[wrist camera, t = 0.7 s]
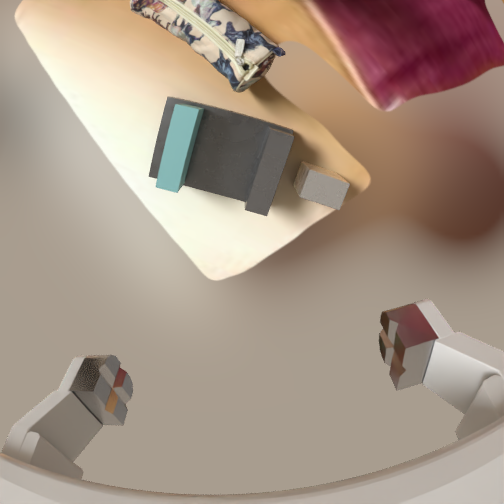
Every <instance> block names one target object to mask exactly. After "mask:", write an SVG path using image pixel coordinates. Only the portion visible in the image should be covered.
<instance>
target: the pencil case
mask: <svg viewBox="0 0 504 504" xmlns="http://www.w3.org/2000/svg"><path fill="white" fill-rule="evenodd" d="M130 8H131V11H132V12H134V13H136V14H138V15H140V16H142V17H144V18H149V19H152V20H153V21H154V22H156V23H157V24H158V25H160V26H161V27H163V28H164V29H166V30H168V31H169V32H170V33H172V34H173V35H174V36H176V37H178V38H180V39H182V40H184V41H186V42H187V43H188V44H189V45H190V46H191V47H192V49H193V50H194V51H195V52H196V53H198V54H200V55H201V56H203V57H204V58H205V59H207V60H208V61H209V62H210V63H211V64H212V65H213V66H214V67H215V68H216V69H217V70H218V71H219V72H220V73H221V74H223V75H224V76H225V77H226V78H228V79H229V82H230V84H231V87H232V89H233V91H236V92H243V91H245V90H246V89H248V88H249V87H250V86H251V85H252V84H253V83H255V82H257V81H258V80H260V79H261V78H262V77H263V76H264V75H265V74H266V73H267V72H268V70H269V69H270V67H271V65H272V63H273V60H274V58H275V55H277V56H283V55H285V51H284V50H283V49H282V48H280V47H279V46H278V45H276V44H275V43H273V42H272V41H271V40H270V39H269V38H267V37H266V36H264V35H263V34H262V33H261V32H260V31H259V30H257V29H256V28H254V27H253V26H252V25H250V23H249V22H248V21H246V20H245V19H244V18H242V17H241V16H239V15H238V14H237V13H235V12H234V11H232V10H231V9H230V8H228V7H227V6H225V5H224V4H222V3H221V2H219V1H218V0H130Z"/></svg>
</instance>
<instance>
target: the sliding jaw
mask: <svg viewBox="0 0 504 504" xmlns="http://www.w3.org/2000/svg"><path fill="white" fill-rule="evenodd" d="M203 112H204V108H200V107H196V106H191V105H187V104H175V107H174V111H173V114H172V118H171V122H170V126H169V130H168V134H167V138H166V142H165V146H164V151H163V155H162V159H161V164H160V168H159V173H158V178H157V183H156V187H157V188H161V189H165V190H169V191H172V192H176V193H178V191H179V190H180V188H181V187H182V185H183V184H184V183H185V179H186V175H187V170H188V167H189V163H190V159H191V155H192V151H193V147H194V144H195V140H196V136H197V133H198V129H199V125H200V122H201V118H202V115H203Z"/></svg>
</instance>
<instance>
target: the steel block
mask: <svg viewBox="0 0 504 504" xmlns="http://www.w3.org/2000/svg"><path fill="white" fill-rule="evenodd" d="M349 185H350V184H349V183H348V182H347V181H346V180H345V179H344V178H342V177H341V176H340V175H339V174H338V173H335V172H332V171H329V170H327V169H324V168H321V167H318V166H315V165H313V164H310V163H307V162H304V161H302V162H301V164H300V167H299V170H298V173H297V176H296V178H295V181H294V184H293V186H294V188H295V190H296V192H297V193H298V195H299V197H301V198H304V199H307V200H310V201H313V202H316V203H319V204H322V205H325V206H328V207H331V208H334V209H337V210H340V207H341V205H342V202H343V200H344V198H345V195H346V193H347V190H348V188H349Z"/></svg>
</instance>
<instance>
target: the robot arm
mask: <svg viewBox="0 0 504 504" xmlns="http://www.w3.org/2000/svg"><path fill="white" fill-rule="evenodd" d="M380 323H381V325H382V326H383V329H382V331H381V332H380V333H379V346H380V352H381V355H382V358H383V360H384V363H386V364H387V365H389V366H391V367H390V377H391V379H392V381H393V384H394V386H395V388H396V390H400V389H404V388H407V387H411V386H414V385H417V384H420V383H423V385H425V386H426V387H427V388H429V389H430V390H431V391H433V392H434V393H436V394H437V395H438V396H440V397H441V398H442V399H444V400H445V401H447V402H448V403H449V404H451V405H452V406H454V407H455V408H456V409H458V410H459V411H461V412H462V413H464V414H465V415H464V417H463V419H462V420H461V422H460V424H459V425H458V427H457V429H456V431H455V432H456V435H457V437H458V441H456V442H454V443H451V444H449V445H447V446H445V447H442V448H440V449H438V450H435V451H433V452H430V453H428V454H425V455H423V456H421V457H418V458H415V459H412V460H410V461H407V462H404V463H401V464H398V465H395V466H392V467H389V468H386V469H383V470H379V471H376V472H372V473H369V474H365V475H361V476H357V477H353V478H349V479H345V480H341V481H336V482H331V483H326V484H321V485H316V486H310V487H304V488H297V489H290V490H282V491H273V492H263V493H250V494H228V495H196V494H174V493H162V492H151V491H143V490H134V489H128V488H121V487H115V486H109V485H104V484H100V483H94V482H90V481H85V480H81V479H82V476H83V470H82V469H81V468H80V467H79V466H77V465H76V464H75V463H73V462H74V460H75V459H76V458H77V457H78V456H79V454H80V453H81V452H82V451H83V450H84V448H85V447H86V446H87V445H88V444H89V442H90V441H91V440H92V439H93V437H94V436H95V435H96V434H97V433H98V431H99V430H100V429H101V428H102V426H103V425H121V426H123V425H124V421H125V418H126V414H127V411H128V409H127V407H126V403H127V402H128V401H129V400H130V399H131V397H132V393H133V384H132V381H131V378H130V376H129V375H128V373H127V372H126V371H124V370H123V369H121V368H120V361H119V360H118V359H117V357H116V356H114V355H88V356H76V357H75V358H74V359H73V361H72V362H71V364H70V366H69V368H68V370H67V372H66V375H65V376H64V378H63V380H62V382H61V384H60V386H59V389H58V391H57V390H55V391H53V392H52V393H51V394H50V395H48V396H47V397H46V398H45V399H44V400H42V401H41V402H40V403H39V404H38V405H37V406H35V407H34V408H33V409H32V410H31V411H29V412H28V413H27V414H26V415H25V416H23V417H22V418H21V419H20V420H19V421H18V422H16V423H15V424H14V425H13V426H12V429H11V431H10V433H9V435H8V438H7V440H6V442H5V445H4V447H3V450H2V452H1V453H0V504H504V351H502V350H499V349H497V348H495V347H493V346H491V345H488V344H486V343H484V342H481V341H479V340H477V339H475V338H473V337H470V336H468V335H466V334H464V333H462V332H456V333H455V332H454V331H453V329H452V328H451V326H450V325H449V324H448V322H447V321H446V320H445V318H444V317H443V316H442V314H441V313H440V312H439V310H438V309H437V308H436V306H435V305H434V304H433V302H432V301H431V300H430V299H424V300H421V301H417V302H414V303H412V304H408V305H405V306H401V307H397V308H394V309H390V310H386V311H383V312H382V314H381V319H380Z"/></svg>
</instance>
